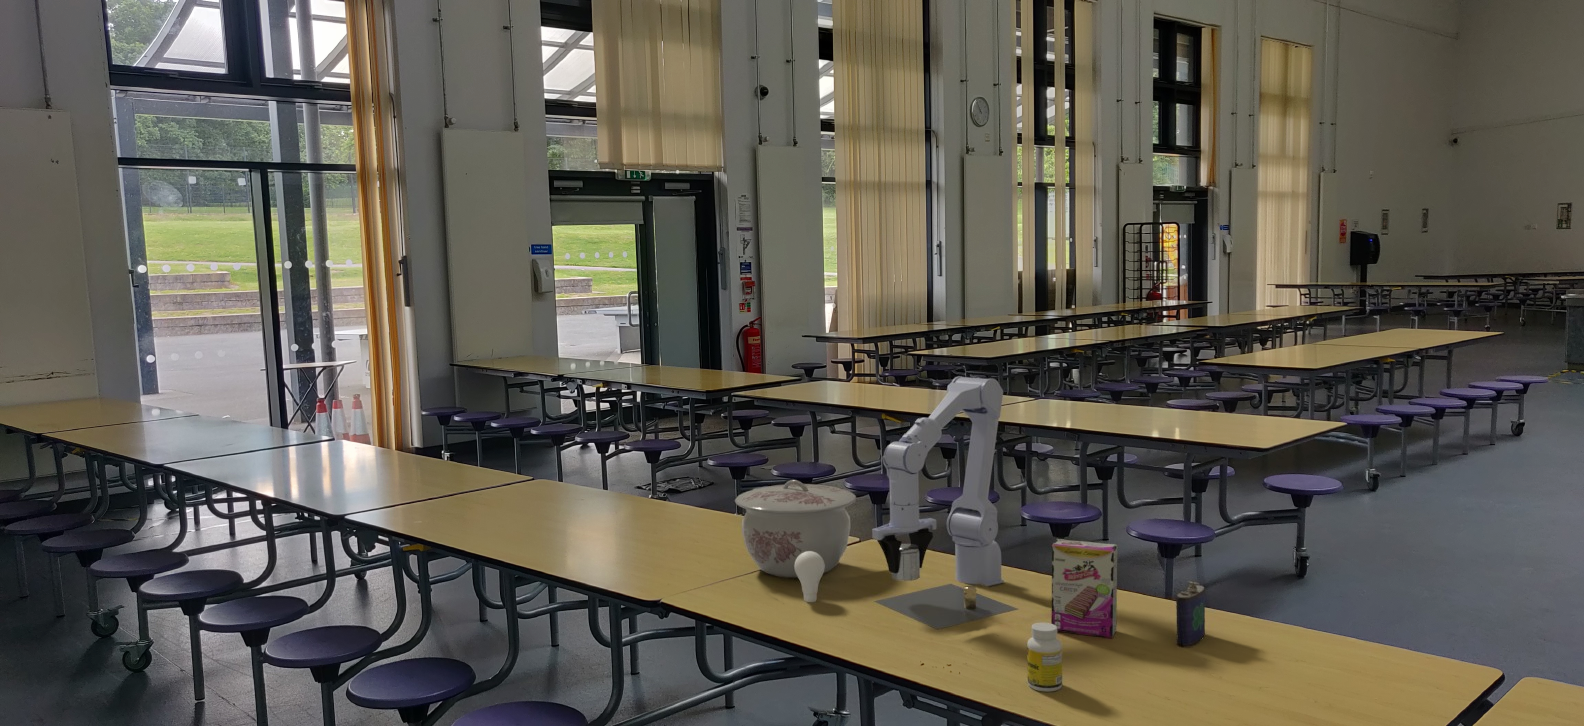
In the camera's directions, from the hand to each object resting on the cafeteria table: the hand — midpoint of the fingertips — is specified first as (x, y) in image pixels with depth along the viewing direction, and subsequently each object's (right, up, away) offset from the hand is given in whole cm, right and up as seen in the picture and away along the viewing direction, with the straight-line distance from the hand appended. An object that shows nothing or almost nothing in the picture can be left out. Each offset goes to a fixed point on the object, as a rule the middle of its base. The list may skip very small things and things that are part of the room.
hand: (905, 569), depth 204 cm
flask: (+49, -9, -21) cm, 54 cm away
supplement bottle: (+18, -11, -40) cm, 45 cm away
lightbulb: (-19, -8, +3) cm, 21 cm away
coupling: (0, -2, 0) cm, 2 cm away
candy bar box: (+31, -8, -16) cm, 36 cm away
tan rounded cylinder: (+12, -7, -4) cm, 14 cm away
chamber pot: (-21, -6, +28) cm, 36 cm away
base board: (+8, -8, -2) cm, 11 cm away
